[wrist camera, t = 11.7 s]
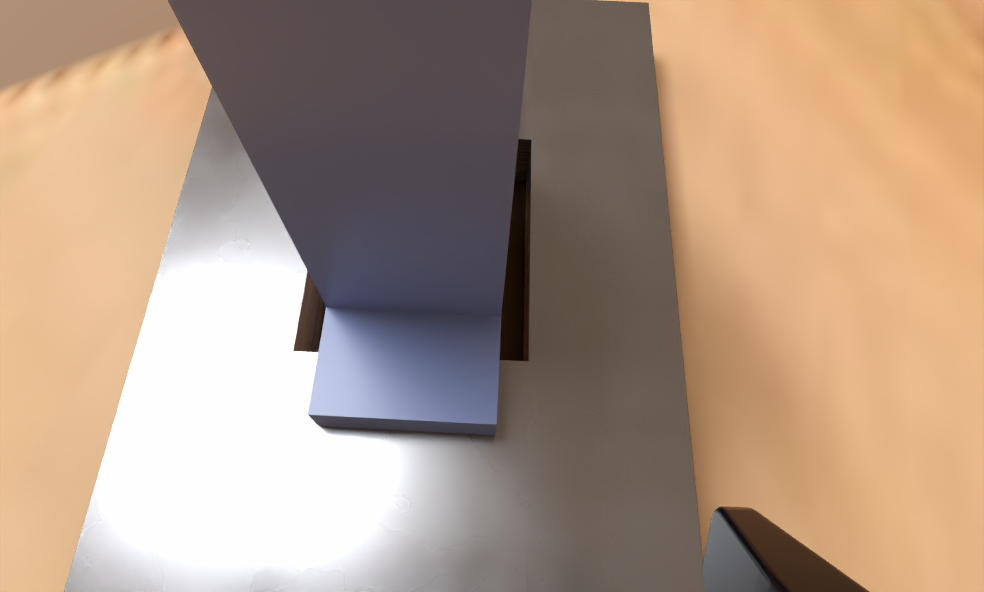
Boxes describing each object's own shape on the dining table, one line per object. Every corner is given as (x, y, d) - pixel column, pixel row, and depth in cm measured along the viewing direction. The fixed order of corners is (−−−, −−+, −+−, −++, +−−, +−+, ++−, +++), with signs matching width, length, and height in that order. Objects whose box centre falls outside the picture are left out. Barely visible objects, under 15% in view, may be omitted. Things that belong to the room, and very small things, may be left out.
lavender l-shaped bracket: (492, 452, 16) (582, -240, 3) (335, 444, 16) (-347, -289, 3) (507, 139, 20) (570, -734, 7) (383, 132, 20) (207, -755, 7)
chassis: (680, 633, 14) (709, 638, 13) (109, 610, 14) (57, 613, 13) (634, 51, 22) (648, 2, 20) (261, 33, 22) (242, -17, 20)
